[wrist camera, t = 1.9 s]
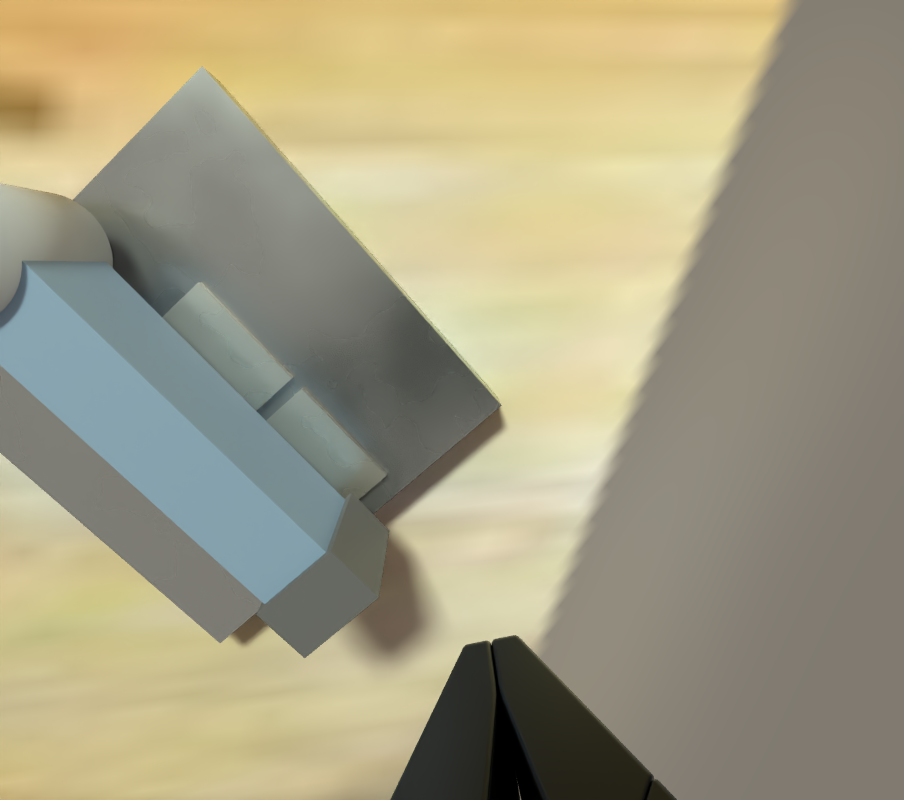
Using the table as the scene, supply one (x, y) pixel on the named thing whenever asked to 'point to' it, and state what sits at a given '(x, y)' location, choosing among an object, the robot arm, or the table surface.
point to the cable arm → (177, 424)
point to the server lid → (251, 338)
